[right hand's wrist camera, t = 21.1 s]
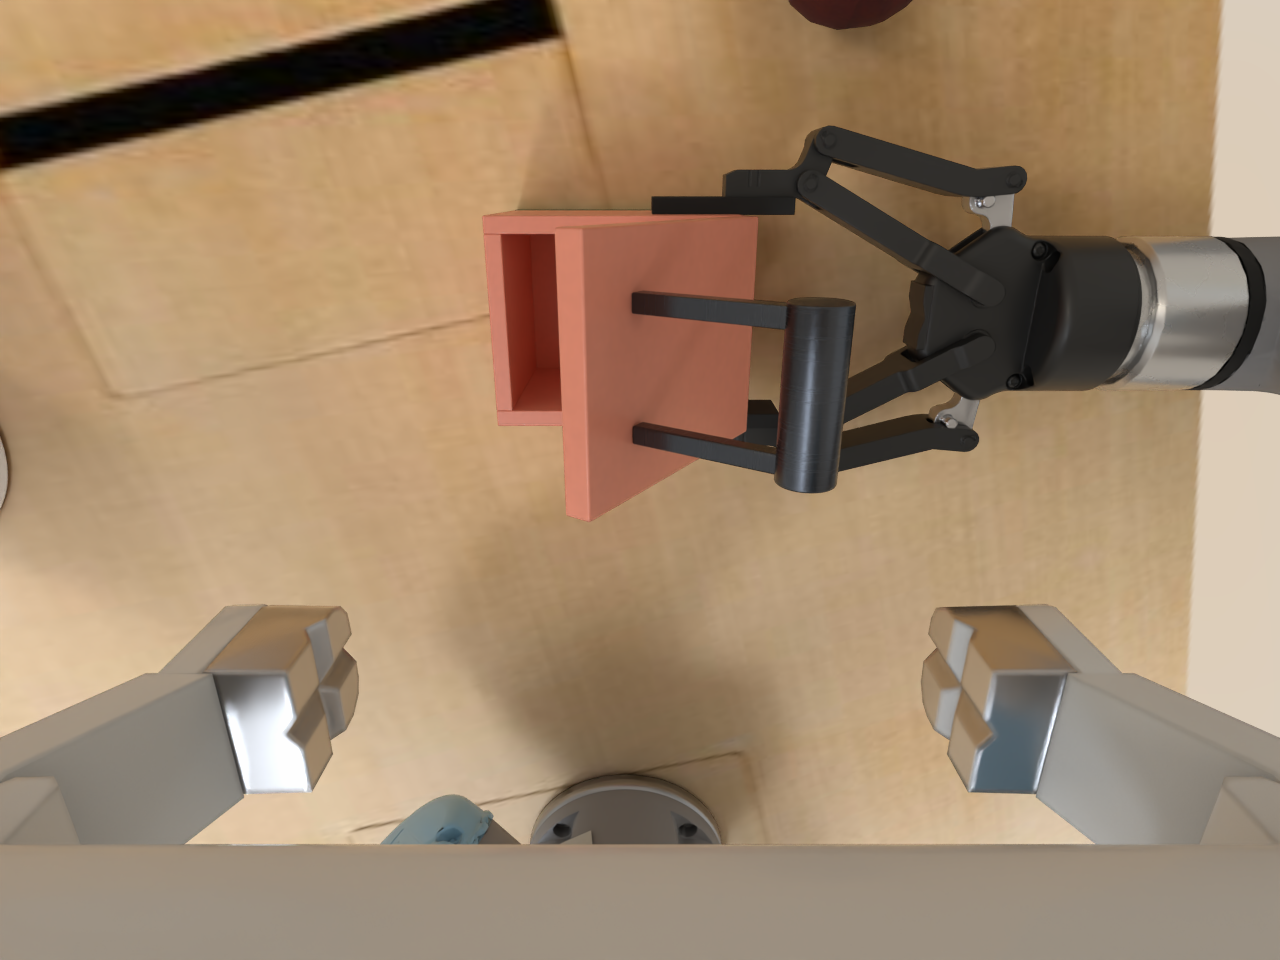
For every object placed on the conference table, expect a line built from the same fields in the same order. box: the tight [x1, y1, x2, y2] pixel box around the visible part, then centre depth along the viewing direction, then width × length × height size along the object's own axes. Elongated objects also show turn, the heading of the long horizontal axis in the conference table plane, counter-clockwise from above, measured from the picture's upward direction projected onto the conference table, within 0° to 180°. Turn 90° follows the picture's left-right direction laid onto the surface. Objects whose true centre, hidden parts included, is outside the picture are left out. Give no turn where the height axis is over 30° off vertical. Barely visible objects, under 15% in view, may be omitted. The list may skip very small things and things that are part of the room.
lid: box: [555, 216, 856, 522], centre depth 26 cm, size 12×10×8 cm
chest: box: [482, 210, 744, 426], centre depth 38 cm, size 11×10×10 cm
